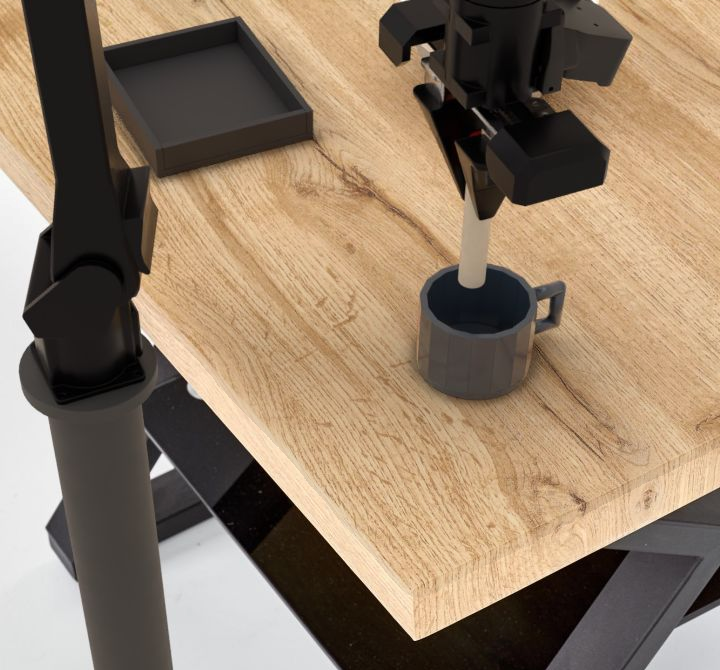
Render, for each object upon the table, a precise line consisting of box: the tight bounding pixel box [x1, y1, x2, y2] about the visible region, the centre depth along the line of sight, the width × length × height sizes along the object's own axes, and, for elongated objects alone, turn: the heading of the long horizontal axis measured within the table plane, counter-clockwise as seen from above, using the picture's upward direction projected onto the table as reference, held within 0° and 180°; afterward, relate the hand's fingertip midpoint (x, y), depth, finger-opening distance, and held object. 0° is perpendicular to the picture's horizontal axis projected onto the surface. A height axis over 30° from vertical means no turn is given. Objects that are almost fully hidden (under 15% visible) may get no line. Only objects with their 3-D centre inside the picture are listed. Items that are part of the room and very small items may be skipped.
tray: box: [103, 15, 314, 179], centre depth 128 cm, size 13×15×3 cm
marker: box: [458, 130, 492, 288], centre depth 101 cm, size 2×2×11 cm
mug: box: [415, 262, 567, 401], centre depth 107 cm, size 11×8×6 cm
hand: (477, 208), depth 100 cm, fingers closed on marker, 2 cm apart
